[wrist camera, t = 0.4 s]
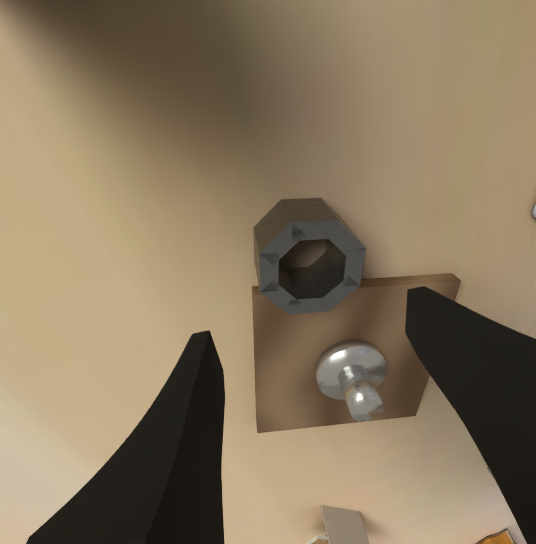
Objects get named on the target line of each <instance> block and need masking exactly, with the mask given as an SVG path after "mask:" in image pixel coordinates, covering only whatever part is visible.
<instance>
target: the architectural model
mask: <svg viewBox="0 0 536 544" xmlns="http://www.w3.org/2000/svg"><path fill="white" fill-rule="evenodd" d="M320 507H321V511H322V516H323V520H324V525H325V529H326V533H327V535H326V536H321V535H316V536H315V537H314V538H313V539H312V540H311V541H310V542H308V543H307V544H327V543H329V544H369V541H368V537H367V534H366V531H365V528H364V525H363V521H362V518H361V515H360V512H359V511H355V510H349V509H343V508H337V507H331V506H325V505H321V506H320ZM316 521H317V520H316Z"/></svg>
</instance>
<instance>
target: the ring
mask: <svg viewBox="0 0 536 544" xmlns="http://www.w3.org/2000/svg"><path fill="white" fill-rule="evenodd" d="M319 239H328V240H327V251H326V253H325V254H323V255H322V256H321V257H320V258H319V259H318V260H317V261H316V262H314V263H313V264H312V265H311V266H310V267H305V268H288V269H286V268H285V267H284V266H283V265H282V264H280V263H279V259H281V258H282V257H283V256H284V255H285V254H286V253H287V252H288V251H289V250H290V249H291V248H292V247H293V246H294V245H295V244H297V243H298V242H299V241H300V240H319ZM365 252H366V248H365V246H364V245H363V244H362V243H361V242H360V240H359V239H358V238H357V237H356V236H355V234H354V233H353V232H352V231H351V230H350V228H349V227H348V226H347V225H346V224H345V223H344V222H343V220H342V219H341V218H340V217H339V216H338V215H337V214H336V213H335V212H334V211H333V210H332V209H331V208H330V207H329V206H328V205H327V204H326V203H325V202H324V201H323V200H322V199H321V198H307V199H282V200H280V201H279V203H278V204H277V205H276V206H275V207H274V208H273V209H272V210H271V211H270V212H269V213H268V214H267V215H266V216H265V217H264V218H263V219H262V220H261V221H260V222H259V223H258V224H257V225H256V226H255V227H254V258H255V267H256V273H257V279H258V284H259V290H260V293H261V294H263V295H264V296H265V297H267V298H268V299H269V300H271V301H272V302H273V303H275V304H276V305H277V306H279V307H280V308H281V309H282V310H284V311H285V312H286V313H288V314H302V313H315V312H329V311H330V310H331V309H332V308H334V307H335V306H336V305H337V304H338V303H340V302H341V301H342V300H343V299H344V298H346V297H347V296H348V295H349V294H351V293H352V292H353V291H354V290H355V289H357V288H358V287H359V286H360V283H361V276H362V270H363V264H364V258H365Z"/></svg>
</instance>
